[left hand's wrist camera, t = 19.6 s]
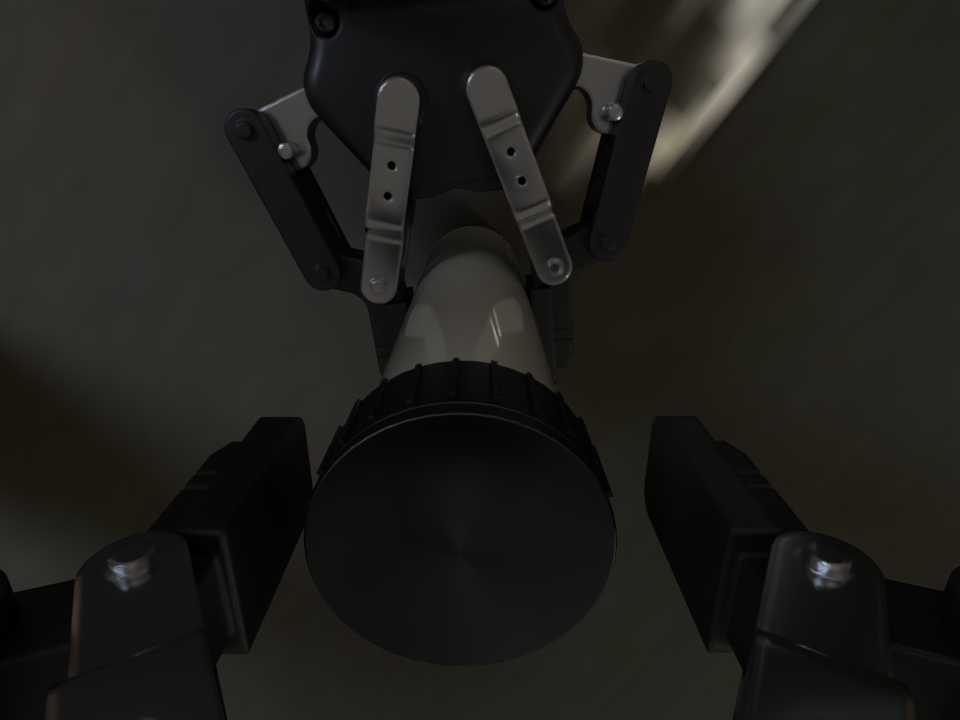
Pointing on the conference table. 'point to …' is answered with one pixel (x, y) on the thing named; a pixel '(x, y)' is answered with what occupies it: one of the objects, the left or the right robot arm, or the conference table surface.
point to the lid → (461, 516)
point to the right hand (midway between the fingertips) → (480, 380)
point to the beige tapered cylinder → (470, 309)
